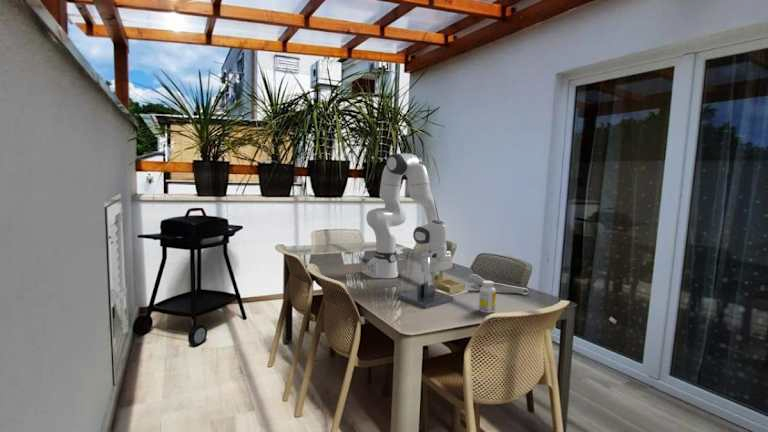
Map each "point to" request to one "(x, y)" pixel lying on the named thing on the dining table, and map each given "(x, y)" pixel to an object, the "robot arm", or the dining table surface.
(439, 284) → the collar
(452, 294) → the pad
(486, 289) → the supplement bottle
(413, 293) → the rod stand
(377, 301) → the dining table surface
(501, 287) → the wrench
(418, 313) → the dining table surface
